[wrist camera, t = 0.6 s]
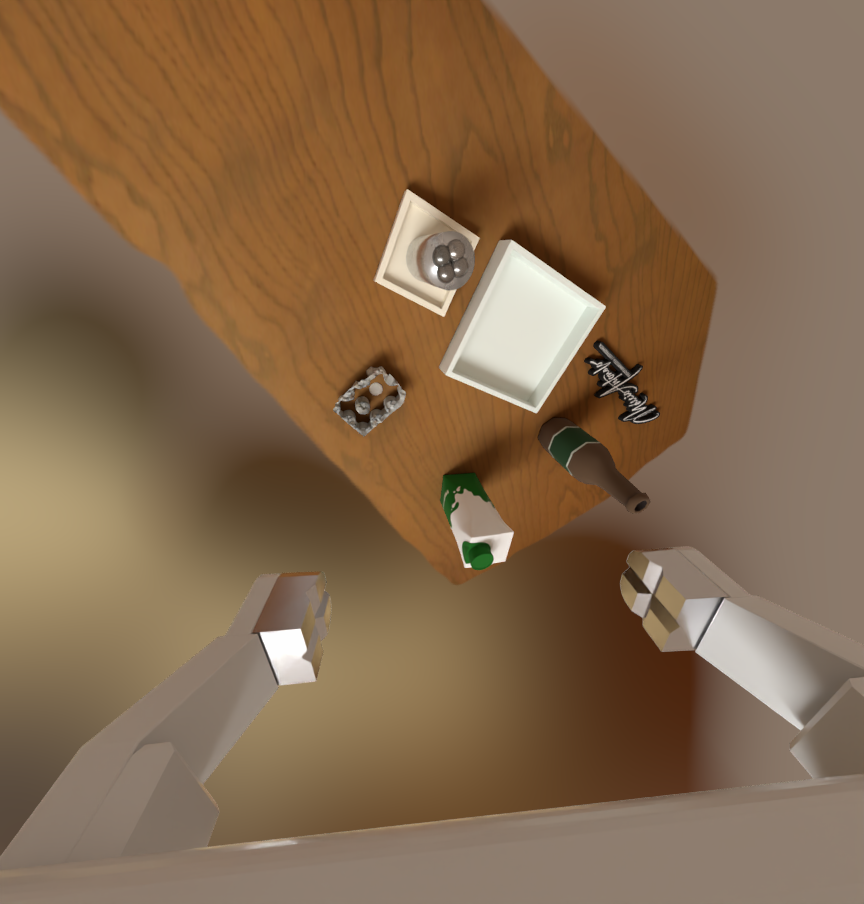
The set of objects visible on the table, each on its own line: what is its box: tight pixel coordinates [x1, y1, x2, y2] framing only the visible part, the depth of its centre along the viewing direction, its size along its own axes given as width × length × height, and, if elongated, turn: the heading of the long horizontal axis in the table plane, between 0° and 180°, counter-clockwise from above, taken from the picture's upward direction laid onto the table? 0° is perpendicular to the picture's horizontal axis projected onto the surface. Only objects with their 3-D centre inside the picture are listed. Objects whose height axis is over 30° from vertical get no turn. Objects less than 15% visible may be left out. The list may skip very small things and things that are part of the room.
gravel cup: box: [406, 231, 475, 290], centre depth 39 cm, size 6×6×13 cm
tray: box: [374, 189, 480, 317], centre depth 44 cm, size 11×11×2 cm
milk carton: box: [440, 473, 514, 570], centre depth 61 cm, size 9×9×20 cm
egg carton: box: [333, 366, 406, 436], centre depth 52 cm, size 11×8×4 cm
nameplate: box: [584, 341, 660, 424], centre depth 65 cm, size 27×2×10 cm
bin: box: [439, 240, 606, 413], centre depth 52 cm, size 20×20×4 cm
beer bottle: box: [538, 418, 650, 514], centre depth 58 cm, size 8×8×24 cm
